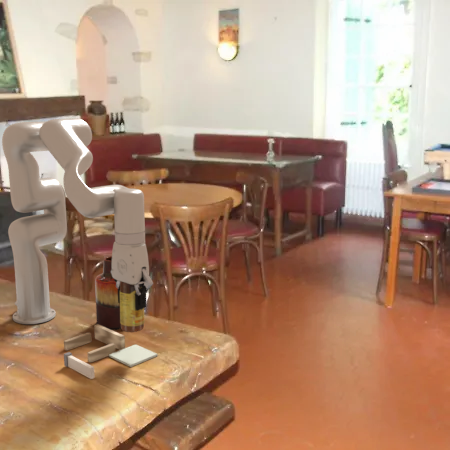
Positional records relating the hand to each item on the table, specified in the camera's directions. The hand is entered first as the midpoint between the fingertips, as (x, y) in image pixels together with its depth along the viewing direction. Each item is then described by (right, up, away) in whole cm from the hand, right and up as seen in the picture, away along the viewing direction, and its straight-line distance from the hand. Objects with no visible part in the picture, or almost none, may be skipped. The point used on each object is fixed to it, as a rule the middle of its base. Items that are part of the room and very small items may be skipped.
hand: (132, 304), depth 155 cm
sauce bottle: (0, -7, +1) cm, 7 cm away
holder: (-12, -13, +7) cm, 19 cm away
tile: (0, -14, +3) cm, 15 cm away
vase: (-9, -9, +26) cm, 29 cm away
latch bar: (-12, -16, -6) cm, 21 cm away
